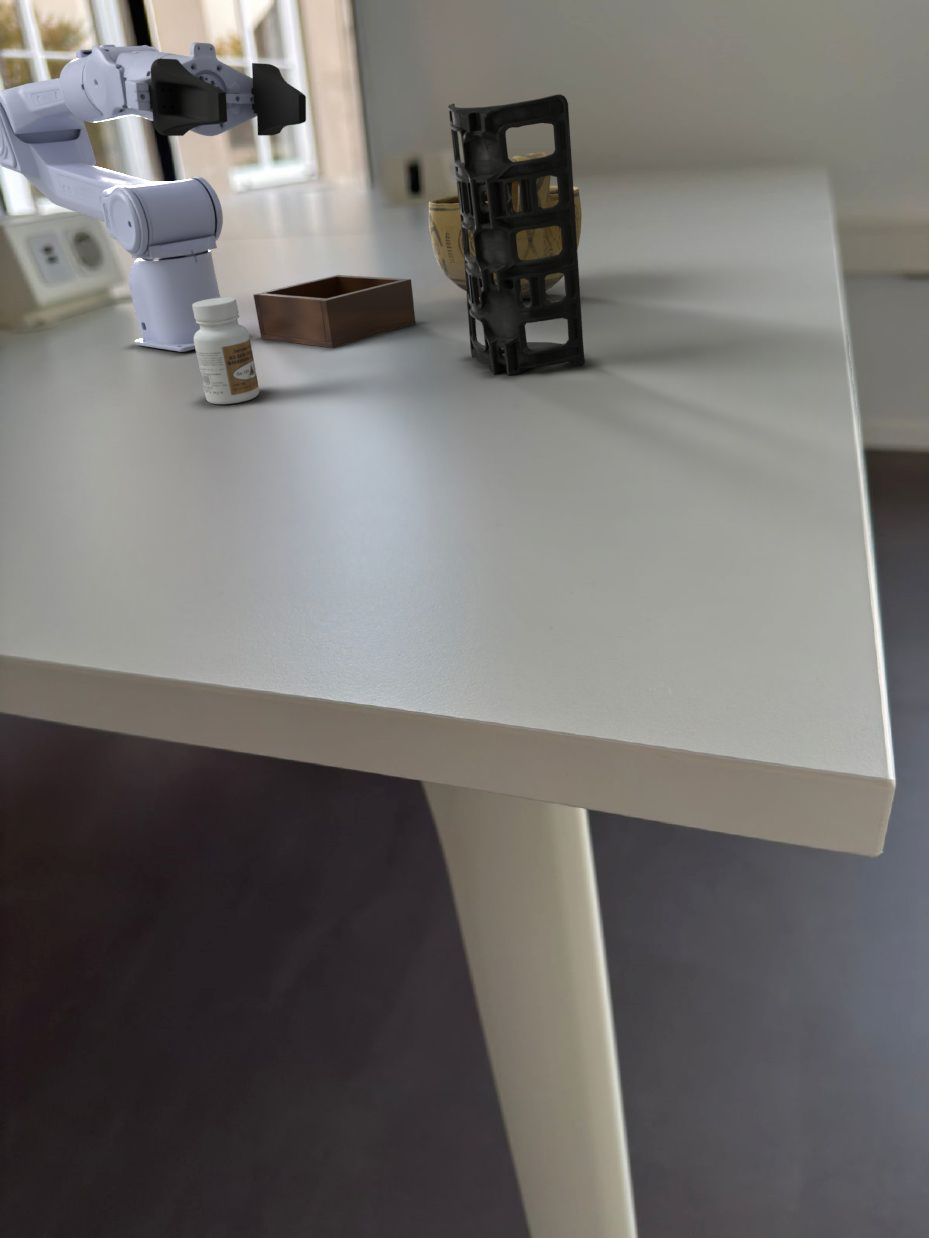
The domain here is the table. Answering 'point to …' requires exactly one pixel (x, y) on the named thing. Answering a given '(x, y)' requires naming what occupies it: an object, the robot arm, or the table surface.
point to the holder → (500, 226)
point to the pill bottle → (224, 352)
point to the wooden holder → (335, 310)
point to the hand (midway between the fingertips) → (264, 108)
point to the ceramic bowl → (529, 242)
